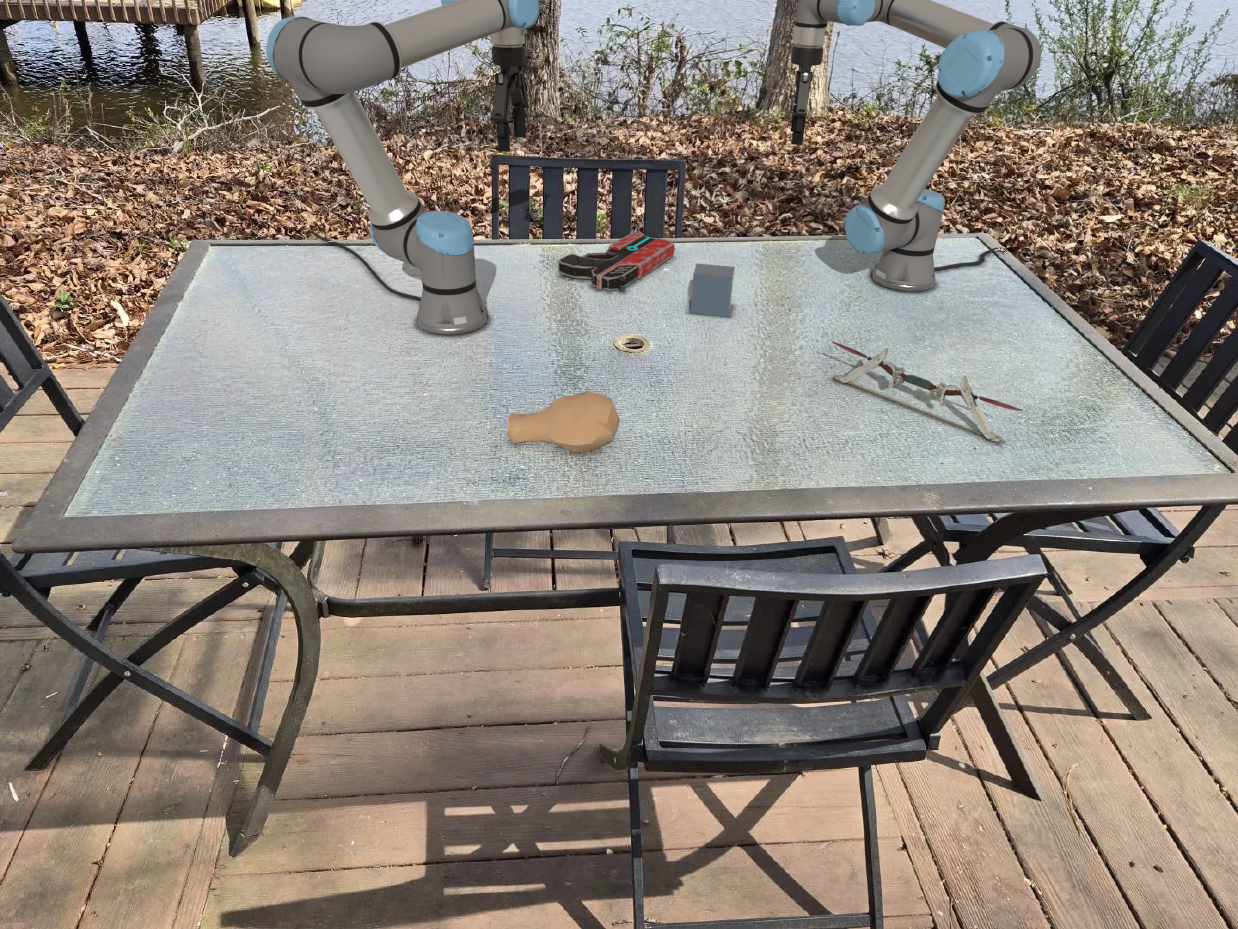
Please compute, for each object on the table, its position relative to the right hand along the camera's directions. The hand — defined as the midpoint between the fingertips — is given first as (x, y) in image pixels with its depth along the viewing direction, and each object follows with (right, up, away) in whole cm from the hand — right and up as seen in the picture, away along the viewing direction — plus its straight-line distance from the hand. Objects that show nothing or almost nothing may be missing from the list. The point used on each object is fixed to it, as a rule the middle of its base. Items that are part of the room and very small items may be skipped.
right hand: (796, 137), depth 222 cm
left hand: (-70, -7, -15) cm, 72 cm away
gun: (-45, -32, +5) cm, 55 cm away
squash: (-55, -79, -66) cm, 116 cm away
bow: (+12, -72, -53) cm, 90 cm away
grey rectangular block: (-23, -46, -16) cm, 54 cm away
